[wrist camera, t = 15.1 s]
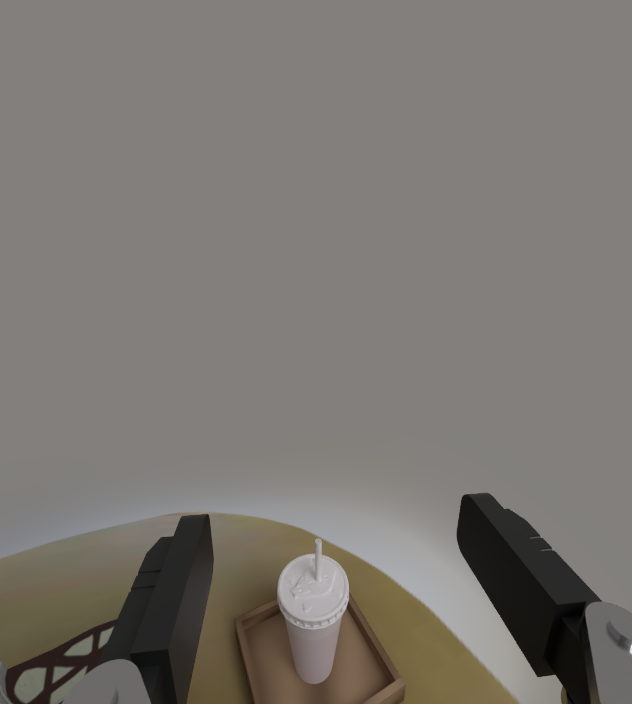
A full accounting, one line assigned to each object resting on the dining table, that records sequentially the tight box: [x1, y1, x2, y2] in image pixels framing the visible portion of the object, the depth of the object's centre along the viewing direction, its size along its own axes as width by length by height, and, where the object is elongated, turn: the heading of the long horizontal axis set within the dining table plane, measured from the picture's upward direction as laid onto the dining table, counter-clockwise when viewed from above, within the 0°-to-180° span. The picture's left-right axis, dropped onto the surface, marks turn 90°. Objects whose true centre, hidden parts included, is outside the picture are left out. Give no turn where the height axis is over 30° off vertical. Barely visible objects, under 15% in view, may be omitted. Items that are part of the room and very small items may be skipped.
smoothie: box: [277, 539, 349, 684], centre depth 30 cm, size 6×6×14 cm
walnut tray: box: [234, 592, 405, 704], centre depth 32 cm, size 12×12×2 cm
